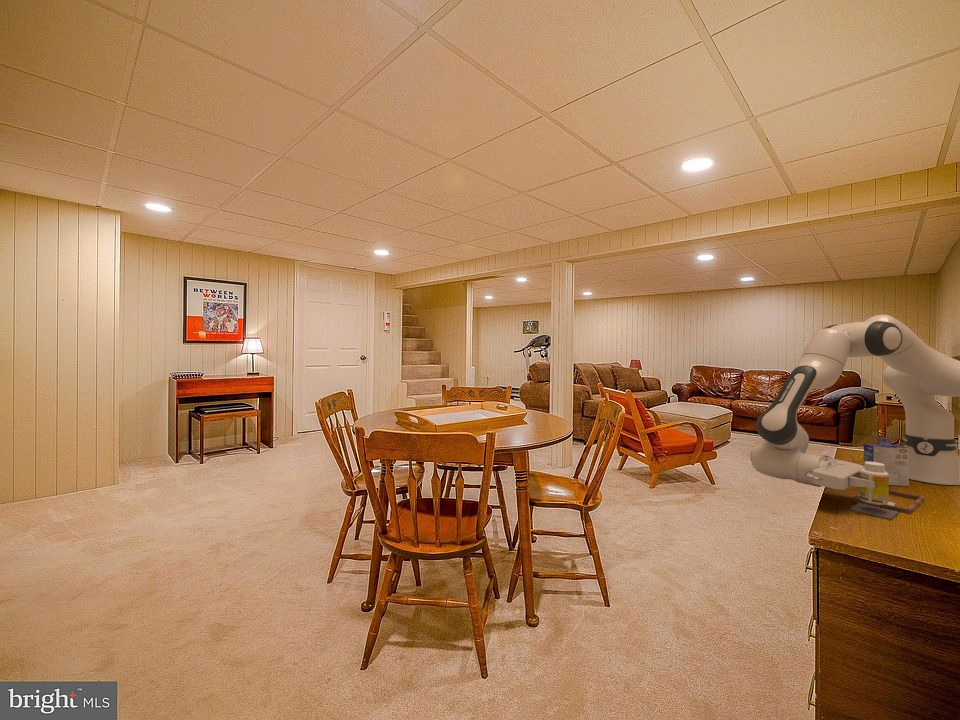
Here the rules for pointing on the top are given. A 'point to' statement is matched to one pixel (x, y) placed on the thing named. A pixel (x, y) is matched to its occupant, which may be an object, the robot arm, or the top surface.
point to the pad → (874, 511)
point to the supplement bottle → (881, 478)
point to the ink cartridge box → (890, 460)
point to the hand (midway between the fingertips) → (878, 482)
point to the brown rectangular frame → (895, 508)
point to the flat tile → (891, 503)
